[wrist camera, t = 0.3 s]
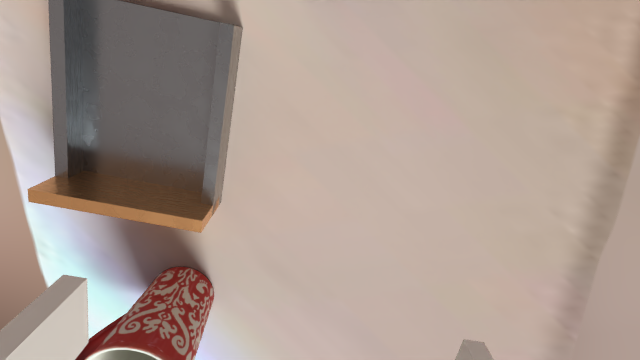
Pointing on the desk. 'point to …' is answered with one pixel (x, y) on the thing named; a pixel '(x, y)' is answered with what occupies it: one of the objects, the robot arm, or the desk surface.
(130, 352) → the mug
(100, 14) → the grey open box
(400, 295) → the desk surface
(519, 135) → the desk surface
